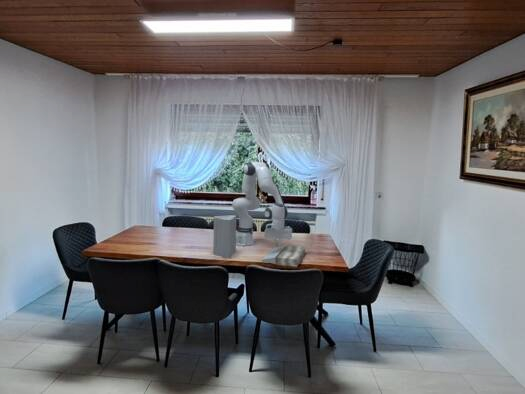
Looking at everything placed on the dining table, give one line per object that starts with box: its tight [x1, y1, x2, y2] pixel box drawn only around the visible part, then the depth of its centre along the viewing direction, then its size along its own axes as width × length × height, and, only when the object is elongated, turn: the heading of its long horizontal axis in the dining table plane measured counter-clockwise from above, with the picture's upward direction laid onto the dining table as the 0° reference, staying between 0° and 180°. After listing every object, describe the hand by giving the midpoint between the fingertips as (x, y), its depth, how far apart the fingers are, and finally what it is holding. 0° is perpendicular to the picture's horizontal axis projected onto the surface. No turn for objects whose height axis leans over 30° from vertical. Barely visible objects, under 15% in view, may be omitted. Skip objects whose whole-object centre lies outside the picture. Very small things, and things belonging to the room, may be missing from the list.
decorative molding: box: [261, 245, 287, 265], centre depth 270 cm, size 34×5×10 cm
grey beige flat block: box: [276, 244, 306, 268], centre depth 266 cm, size 14×36×5 cm, turn 165°
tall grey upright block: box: [212, 214, 237, 259], centre depth 272 cm, size 19×15×28 cm
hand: (277, 244), depth 268 cm, fingers closed
